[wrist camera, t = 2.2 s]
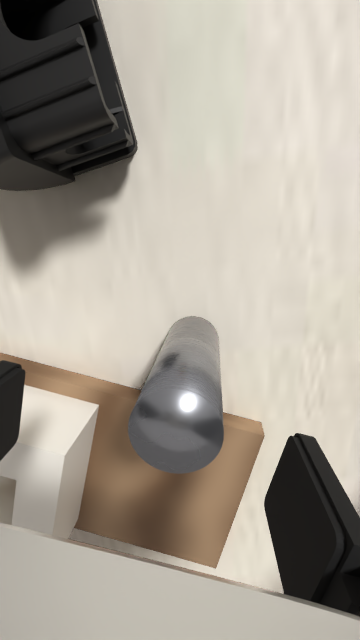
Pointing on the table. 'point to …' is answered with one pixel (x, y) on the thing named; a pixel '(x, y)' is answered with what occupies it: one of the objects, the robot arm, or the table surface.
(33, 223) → the table surface
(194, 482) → the board
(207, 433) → the peg
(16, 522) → the socket
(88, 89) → the end cap
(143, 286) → the table surface
